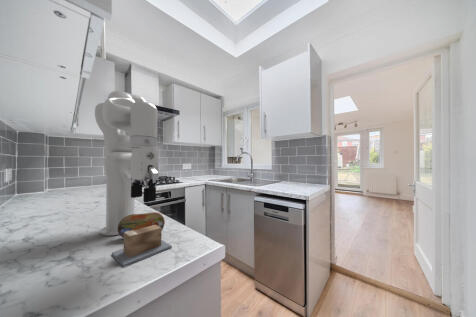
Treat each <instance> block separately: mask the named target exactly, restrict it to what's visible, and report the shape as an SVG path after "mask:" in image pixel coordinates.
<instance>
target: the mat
mask: <svg viewBox="0 0 476 317" xmlns="http://www.w3.org/2000/svg"><path fill="white" fill-rule="evenodd" d="M123 249H124V248H121V249H117V250H115V251H112V252H111V256H113V258H114V259H115V260H116V261H117V262H118V263H119V264H120V265H121V266H122V268H125V267H128V266H130V265H133V264H134V263H137V262H140V261H143V260H145V259H148V258H150V257H152V256H154V255H157V254H159V253H162V252H165V251H167V250H169V249H172V244H169V243H167V242H166V241H164V240H162V239H161V246H159V247H156V248H153V249H151V250H148V251H145V252H142V253H140V254H137V255H134V256H131V257H127V255H126V254H125V253H124V252H123Z"/></svg>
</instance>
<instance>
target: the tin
mask: <svg viewBox="0 0 476 317" xmlns="http://www.w3.org/2000/svg"><path fill="white" fill-rule="evenodd" d="M165 221H166V220H165V218H164V216H163V215H162V214H161V213H160V212H157V211H155V212H143V213H142V212H141V213H134V214H131V215H128V216H126V217H124V218H123V219H122V220H121V221H120V223H119V225H118V233H119V235H118V236H120V237H121V238H123V239H124V233H125V232H127V231H131V230H137V229H141V228H145V227H148V226H152V225H157V226H159V227H161V232H162V231H163V230H164V227H165V224H166V222H165Z"/></svg>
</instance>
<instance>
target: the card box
mask: <svg viewBox="0 0 476 317" xmlns="http://www.w3.org/2000/svg"><path fill="white" fill-rule="evenodd" d="M161 240H162V231H161V227H159V226H157V225H152V226H148V227H145V228H141V229H137V230H131V231H127V232H125V233H124V238H123V248H122V249H123V252H124V253H125V254H126V255H127V257H131V256H134V255H137V254H140V253H142V252H145V251H148V250H151V249H153V248H156V247H159V246H161Z"/></svg>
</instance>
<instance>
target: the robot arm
mask: <svg viewBox="0 0 476 317" xmlns="http://www.w3.org/2000/svg"><path fill="white" fill-rule="evenodd" d="M158 111H159V110H158V108H157V107H156V105H154V104H153V103H150V102H147V101H146V99H145V98H144V97H142V96H140V95H137V94H133V93H130V92H125V91H121V90H114V91H111V92H110V93H108V95H107V99H105V100H104V102H100V103H97V104H96V105H95V107H94V118H95V122H96V124H97V127H98V128H99V129H100V131H101V133H102V134H103V140H104V146H105V150H106V151H107V152H106V153H108V154H106V156H104V160H103V164H104V165H103V166H104V172H105V173H104V174H105V178H106V179H105V180H106V181H105V182H106V191H105V195H106V200H105V202H106V203H105V227H102V229H100V235H102V236H106V237H107V236H120V235H119V233H118V225H119V223H120V221H121V220H122V219H123V218H124V217H126V216H128V215H131V214H135V198H141V197H142V196H143V203H150V202H155V201H156V198H157V197H156V196H157V184H158V179H159V177H160V176H159V175H160V171H159V170H160V168H159V155H158V119H159V118H158ZM125 130H127V131H129V135H127V134H126V131H125ZM129 176H130V177H129ZM142 183H143V184H144V187H143V184H142Z"/></svg>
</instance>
